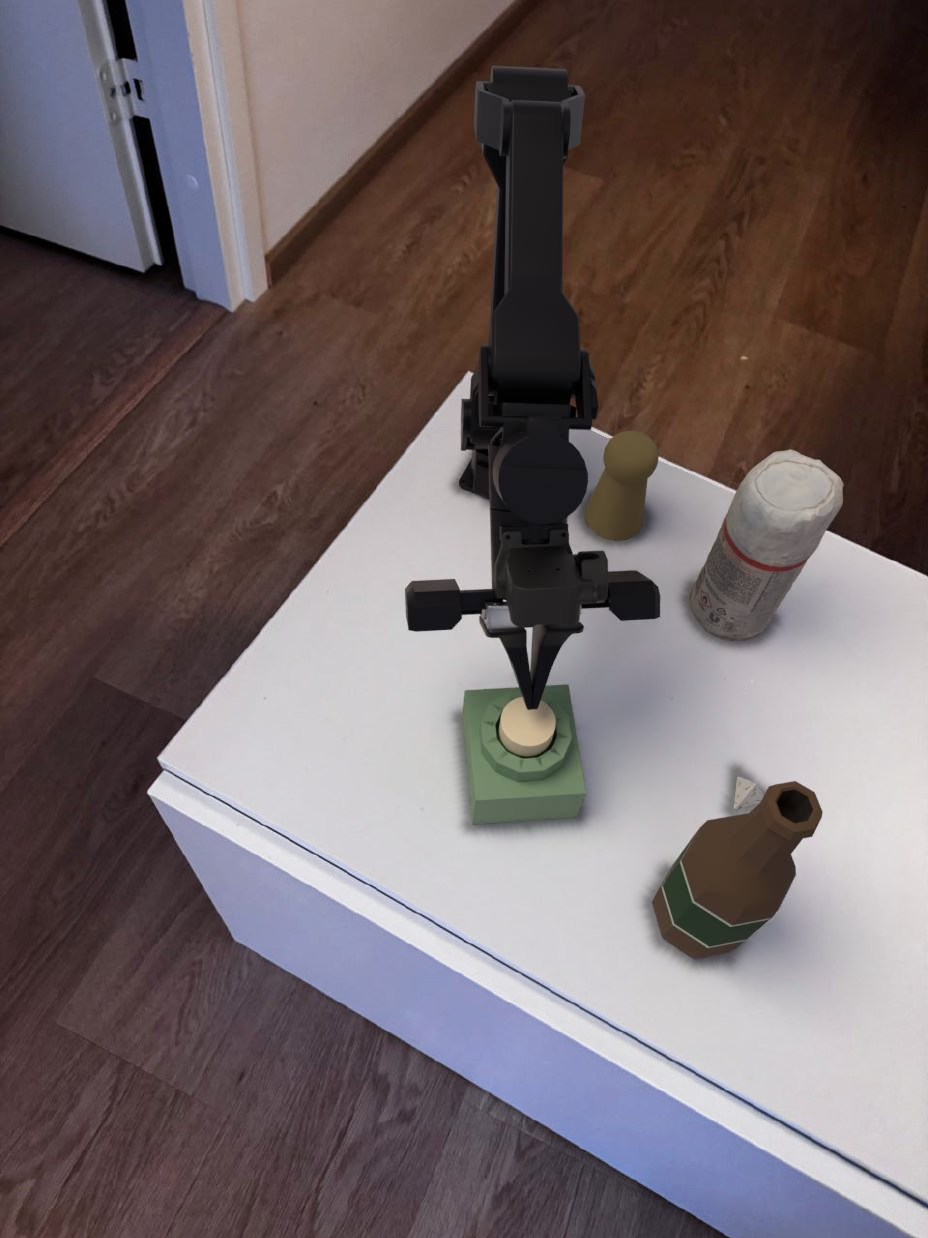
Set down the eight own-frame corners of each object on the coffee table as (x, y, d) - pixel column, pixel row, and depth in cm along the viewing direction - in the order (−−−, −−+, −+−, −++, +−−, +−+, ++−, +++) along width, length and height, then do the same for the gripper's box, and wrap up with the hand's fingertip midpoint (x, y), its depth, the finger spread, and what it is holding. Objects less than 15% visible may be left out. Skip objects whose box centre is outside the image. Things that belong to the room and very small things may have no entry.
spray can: (778, 648, 93) (860, 519, 76) (693, 644, 92) (755, 514, 76) (765, 575, 97) (840, 438, 80) (684, 571, 97) (741, 433, 80)
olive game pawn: (623, 550, 98) (645, 479, 89) (573, 520, 100) (590, 447, 90) (653, 513, 101) (678, 441, 91) (605, 485, 102) (624, 411, 93)
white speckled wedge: (752, 779, 87) (757, 756, 85) (768, 802, 85) (774, 779, 83) (717, 788, 86) (721, 765, 84) (732, 812, 84) (737, 789, 82)
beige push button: (496, 709, 80) (497, 697, 78) (548, 706, 80) (551, 694, 79) (501, 758, 78) (504, 747, 76) (556, 755, 78) (559, 744, 76)
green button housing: (461, 718, 87) (465, 678, 81) (560, 712, 88) (572, 672, 82) (471, 825, 82) (476, 791, 76) (576, 817, 83) (590, 783, 76)
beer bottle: (742, 972, 77) (861, 881, 56) (644, 951, 77) (727, 853, 57) (746, 877, 81) (859, 760, 60) (654, 857, 81) (734, 734, 61)
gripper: (406, 526, 63) (416, 753, 67) (686, 514, 65) (681, 736, 68) (400, 507, 74) (409, 703, 77) (640, 497, 75) (638, 689, 79)
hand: (531, 708), depth 75 cm, fingers closed
